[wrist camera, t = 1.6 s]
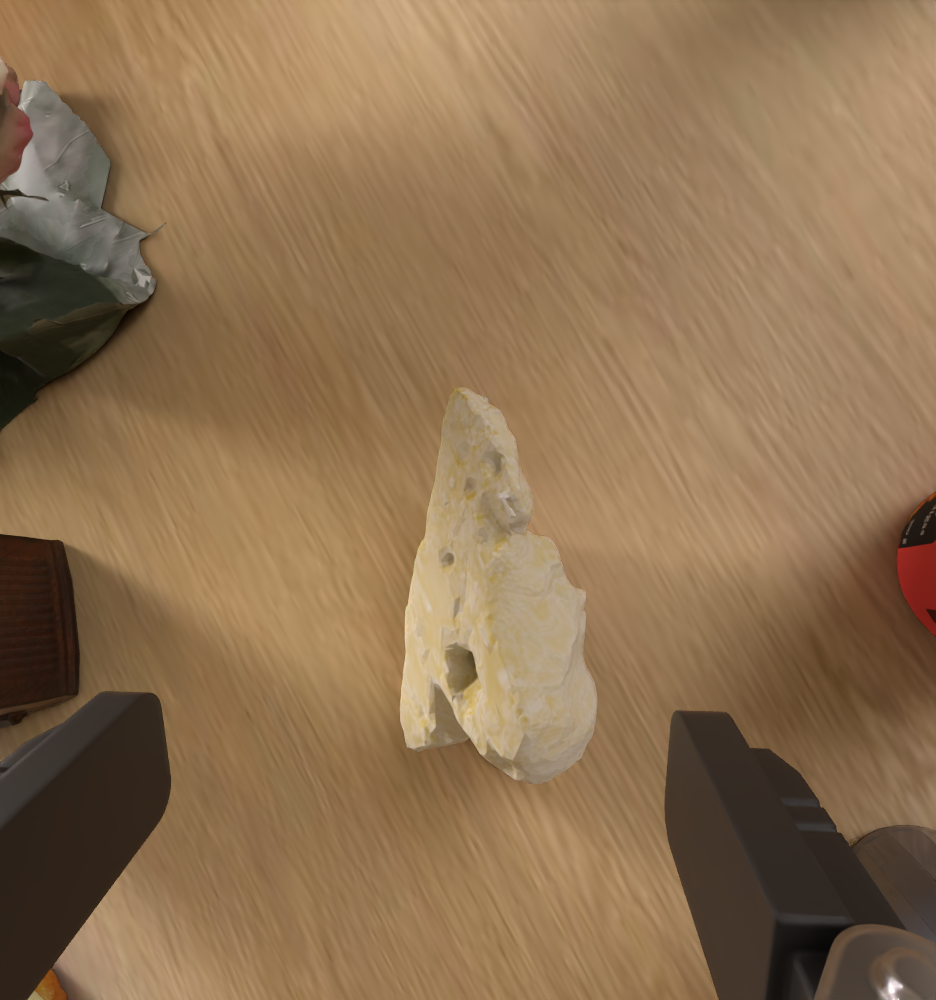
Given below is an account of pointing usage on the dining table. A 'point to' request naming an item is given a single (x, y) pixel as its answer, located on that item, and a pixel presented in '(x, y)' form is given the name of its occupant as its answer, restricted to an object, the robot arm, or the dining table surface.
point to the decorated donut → (49, 989)
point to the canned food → (920, 562)
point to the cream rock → (493, 614)
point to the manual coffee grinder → (35, 628)
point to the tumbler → (904, 873)
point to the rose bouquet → (56, 244)
